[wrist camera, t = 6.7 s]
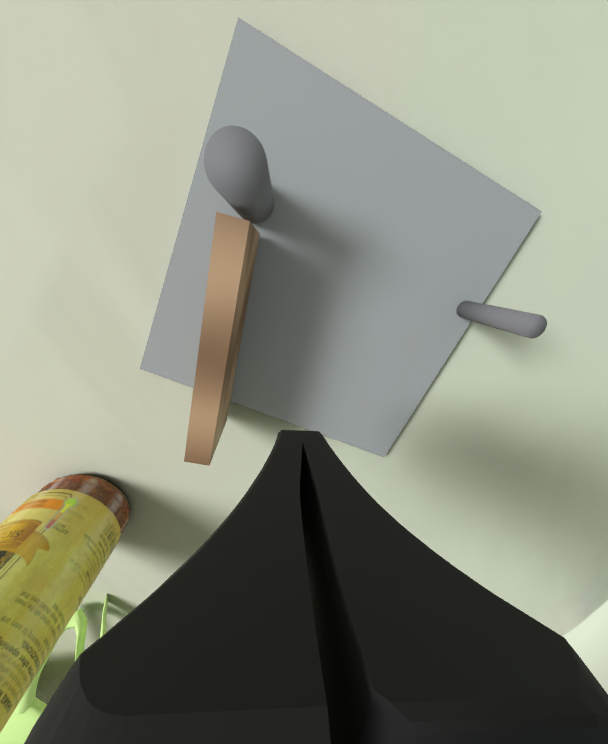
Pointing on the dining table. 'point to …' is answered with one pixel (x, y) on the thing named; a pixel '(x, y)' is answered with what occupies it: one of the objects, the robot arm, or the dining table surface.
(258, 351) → the gate frame
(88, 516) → the sauce bottle
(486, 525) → the dining table surface
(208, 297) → the board
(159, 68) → the dining table surface
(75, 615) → the figurine
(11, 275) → the dining table surface
